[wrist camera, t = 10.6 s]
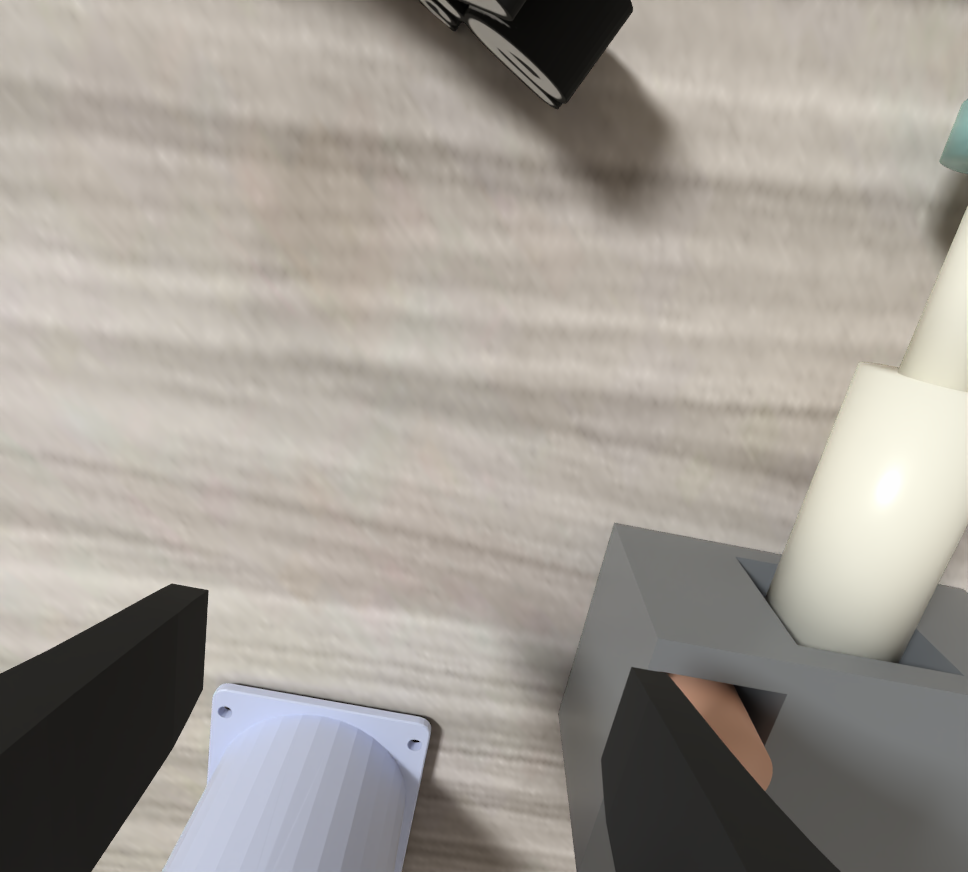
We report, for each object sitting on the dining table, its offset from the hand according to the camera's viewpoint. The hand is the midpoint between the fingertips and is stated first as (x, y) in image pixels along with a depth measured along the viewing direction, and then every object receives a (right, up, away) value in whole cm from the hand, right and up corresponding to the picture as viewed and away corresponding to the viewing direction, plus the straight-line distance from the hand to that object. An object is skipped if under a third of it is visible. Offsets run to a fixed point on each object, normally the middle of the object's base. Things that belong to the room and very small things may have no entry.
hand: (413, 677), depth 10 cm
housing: (+11, -4, +11) cm, 16 cm away
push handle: (+12, +5, +7) cm, 15 cm away
